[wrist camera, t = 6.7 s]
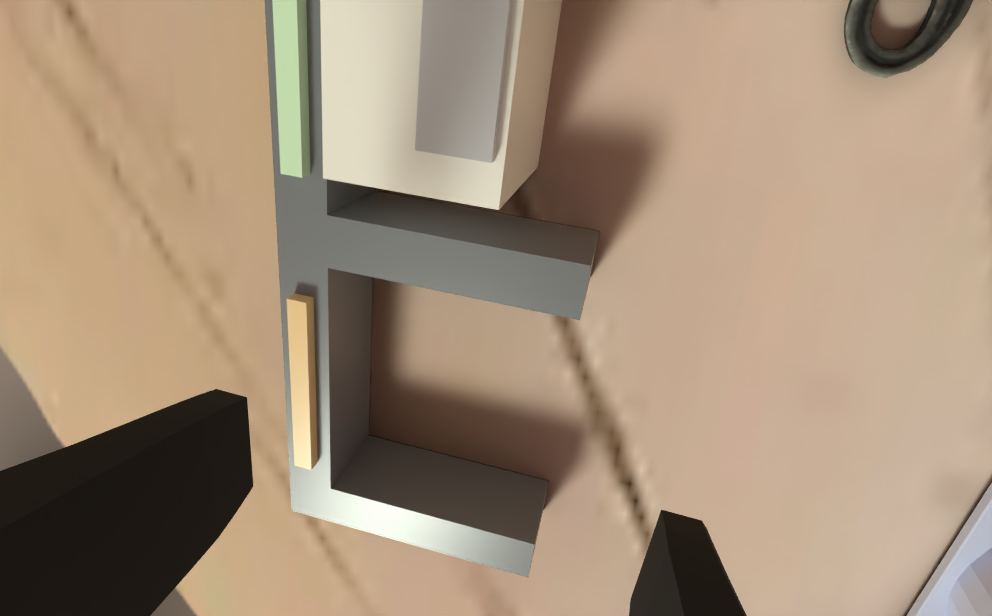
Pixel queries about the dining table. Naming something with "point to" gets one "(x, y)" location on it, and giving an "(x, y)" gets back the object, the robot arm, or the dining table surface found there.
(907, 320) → the dining table surface
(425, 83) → the plug
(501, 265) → the socket panel
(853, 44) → the composite cable
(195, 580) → the dining table surface
